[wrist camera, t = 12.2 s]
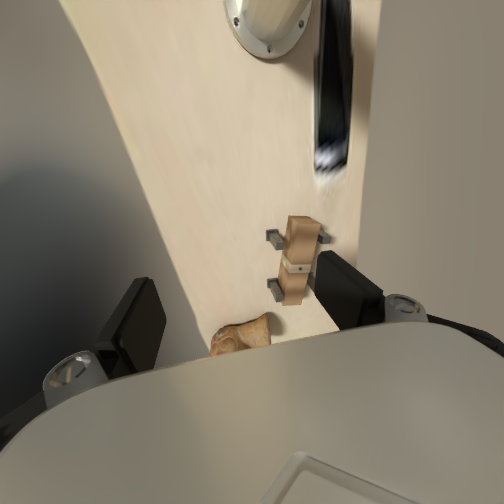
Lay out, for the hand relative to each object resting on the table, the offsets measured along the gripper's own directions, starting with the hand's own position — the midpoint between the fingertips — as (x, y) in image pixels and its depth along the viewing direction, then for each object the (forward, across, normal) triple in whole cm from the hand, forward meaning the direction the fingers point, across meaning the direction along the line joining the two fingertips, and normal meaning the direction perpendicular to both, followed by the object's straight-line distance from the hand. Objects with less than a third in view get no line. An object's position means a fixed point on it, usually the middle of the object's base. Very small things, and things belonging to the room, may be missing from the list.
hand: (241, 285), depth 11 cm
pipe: (+30, 0, +36) cm, 47 cm away
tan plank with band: (+30, -14, +16) cm, 37 cm away
